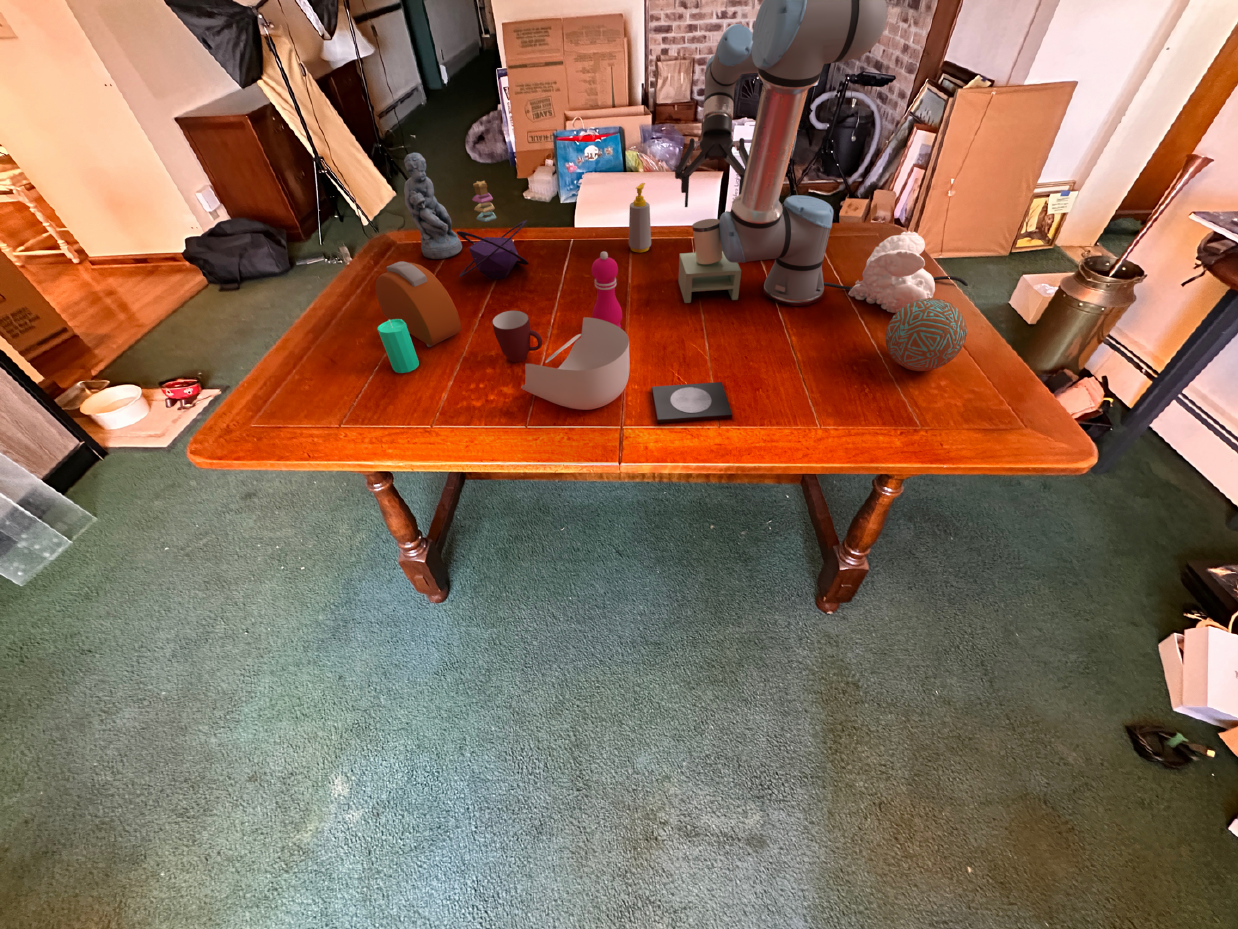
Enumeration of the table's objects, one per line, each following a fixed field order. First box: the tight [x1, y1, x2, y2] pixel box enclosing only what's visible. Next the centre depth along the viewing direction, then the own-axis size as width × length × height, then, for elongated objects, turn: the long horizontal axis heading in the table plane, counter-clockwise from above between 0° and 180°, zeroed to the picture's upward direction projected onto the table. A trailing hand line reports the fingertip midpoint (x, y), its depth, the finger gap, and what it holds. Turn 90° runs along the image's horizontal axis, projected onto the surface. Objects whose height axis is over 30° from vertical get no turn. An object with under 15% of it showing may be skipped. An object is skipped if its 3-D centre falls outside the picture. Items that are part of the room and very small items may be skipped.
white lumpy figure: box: [847, 230, 936, 314], centre depth 138 cm, size 19×20×20 cm
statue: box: [403, 152, 463, 260], centre depth 164 cm, size 12×23×27 cm, turn 71°
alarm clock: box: [375, 261, 463, 348], centre depth 134 cm, size 23×9×17 cm, turn 47°
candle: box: [376, 319, 420, 374], centre depth 125 cm, size 6×6×12 cm
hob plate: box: [651, 381, 733, 425], centre depth 115 cm, size 15×11×1 cm
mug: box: [491, 310, 543, 363], centre depth 126 cm, size 10×8×10 cm
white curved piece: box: [520, 316, 631, 411], centre depth 116 cm, size 20×19×12 cm
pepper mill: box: [591, 250, 623, 329], centre depth 130 cm, size 7×7×20 cm
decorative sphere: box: [885, 297, 968, 372], centre depth 117 cm, size 15×15×15 cm
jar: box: [691, 218, 723, 264], centre depth 141 cm, size 7×7×9 cm
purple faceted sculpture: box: [456, 180, 530, 280], centre depth 152 cm, size 22×21×25 cm
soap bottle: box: [628, 182, 652, 253], centre depth 163 cm, size 7×7×18 cm
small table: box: [677, 250, 742, 304], centre depth 147 cm, size 14×12×8 cm
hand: (713, 205), depth 142 cm, fingers open, 13 cm apart
